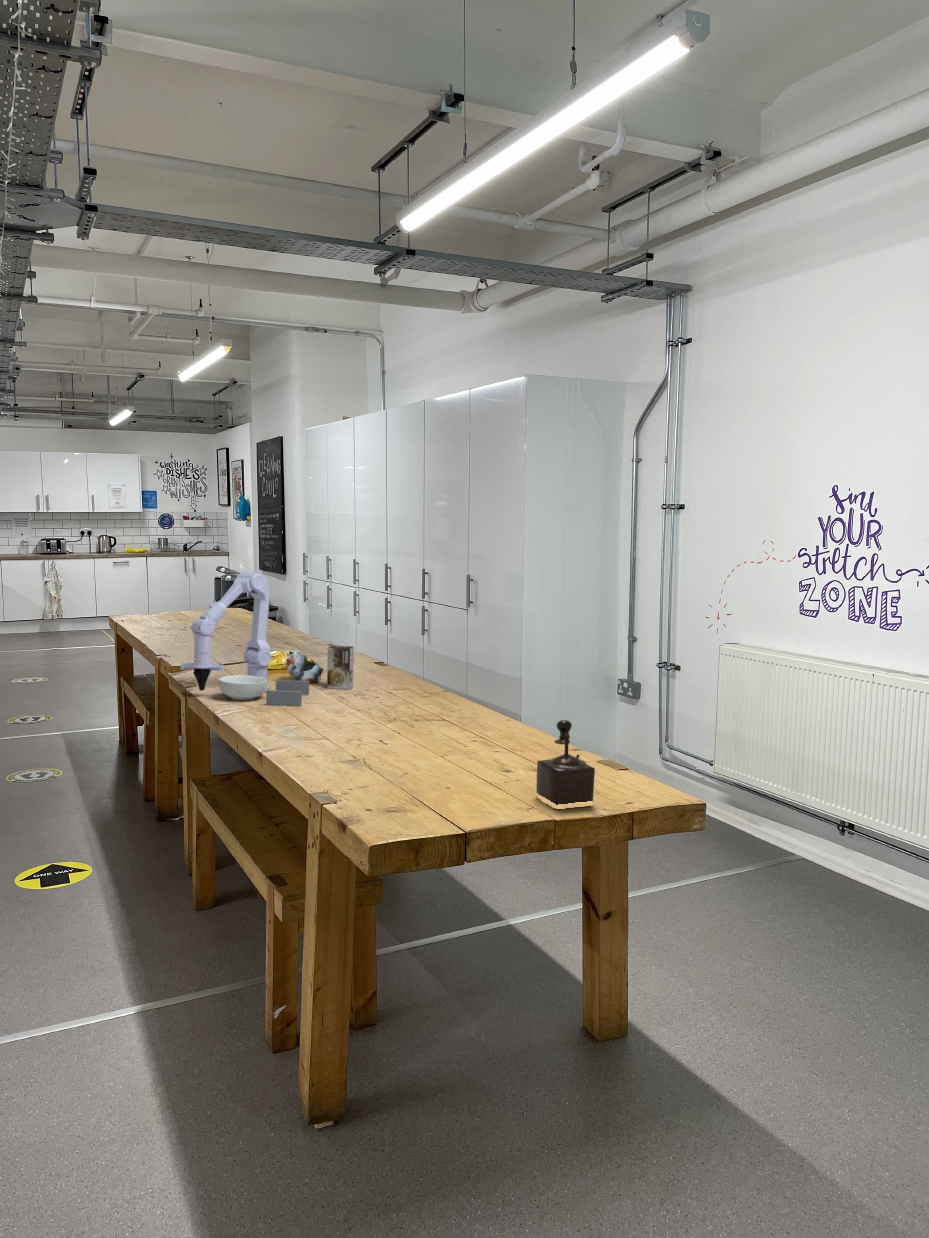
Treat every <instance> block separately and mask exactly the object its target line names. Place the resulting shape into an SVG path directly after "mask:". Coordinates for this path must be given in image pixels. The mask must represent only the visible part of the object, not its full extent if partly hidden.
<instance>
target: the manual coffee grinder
mask: <svg viewBox="0 0 929 1238" xmlns="http://www.w3.org/2000/svg"><path fill="white" fill-rule="evenodd" d="M556 729H557V730H558V731H559V736H558V738H559V739H555V740H554V744H556V745H564V753H563V754H561V755H559V756H556V757H554V758H553V759H543V760H537V763H536V764H537V766H536V768H537V769H536V793H538V794H539V795H541V796H543V797H545V798H546V799H548V800H550V801H551V802H553V803H555V804H556V805H558V804H568V803H575V802H587V801H593V802H594V790H595V776H596V775H595V774H596V773H595V772H596V771H595V770H596V769H595V767H593V766H591V765H590V764H587V763H586V761H585V760H582V759H581V758H580V754H576V756H573V755H571V754H569V744H570V743H571V740H570V739H571V736H570V731H571V730H572V722H571V721H570V720H569V719H568V720H566V719H562V720H559V721H558V722H557V723H556Z"/></svg>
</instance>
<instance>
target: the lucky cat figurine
mask: <svg viewBox="0 0 929 1238" xmlns="http://www.w3.org/2000/svg"><path fill="white" fill-rule="evenodd" d="M285 667H286V671H287V673H288V674H289V675H290V676H291V679H292V681H309V685H314V684H313V683H315V684H316V683H319V681H321V680H322V674H323V672H324V668H323V667H321V666H320V665H319V664H318V662H316V661H314V660H313V659H312V658H311V659H309V660H308V657H307V656H306V654H305V653H301V652H300V651H299V650H297V652H293V651H291V650H289V651H288V656H287V658H285Z"/></svg>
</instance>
